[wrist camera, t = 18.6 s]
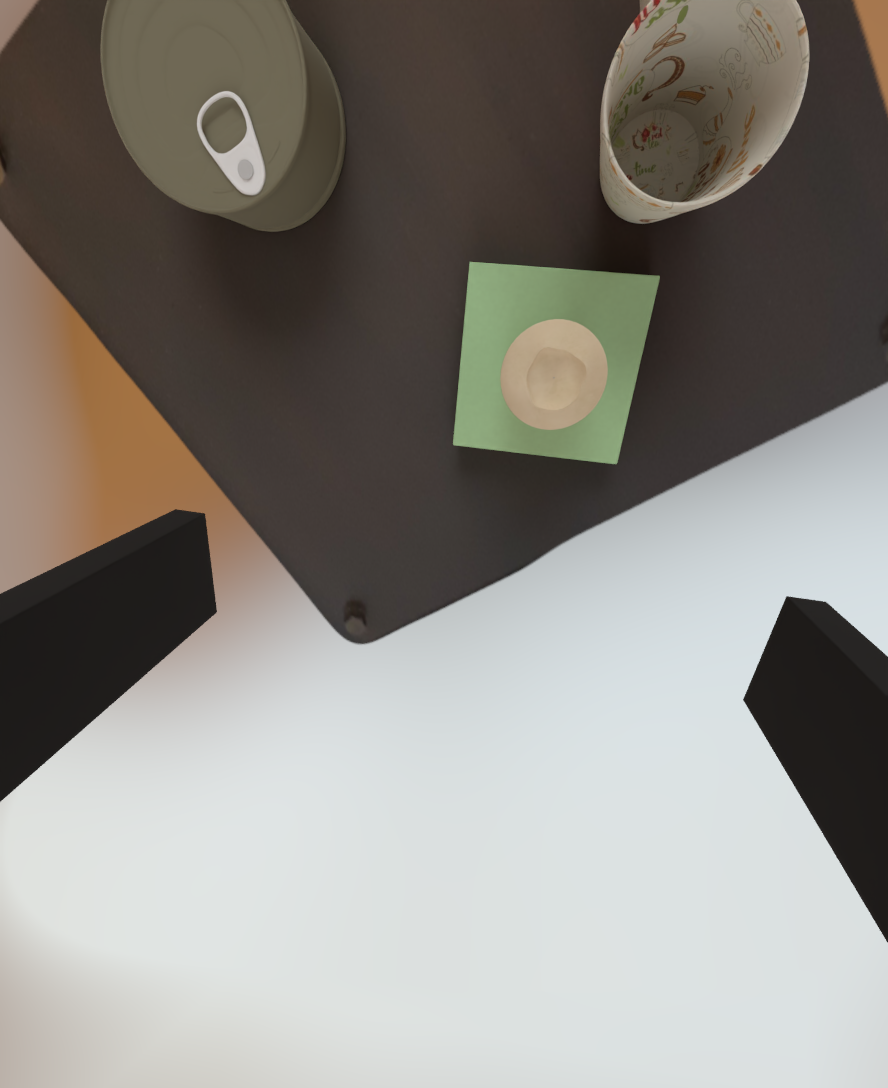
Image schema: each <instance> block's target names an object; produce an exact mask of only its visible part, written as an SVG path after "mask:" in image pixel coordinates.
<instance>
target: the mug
mask: <svg viewBox="0 0 888 1088" xmlns="http://www.w3.org/2000/svg"><path fill="white" fill-rule="evenodd" d="M808 68H809V41H808V33H807V28H806V24H805V20H804V17H803V14H802V12H801V9H800V7H799V5H798V3H797V1H796V0H640V14H639V15H638V16H637V18H636V19H635V20H634V22H633V23H632V25H631V26H630V27H629V29H628V31H627V32H626V34H625V36H624V37H623V39H622V41H621V43H620V45H619V47H618V49H617V51H616V53H615V56H614V58H613V61H612V63H611V66H610V69H609V72H608V75H607V79H606V83H605V87H604V92H603V98H602V105H601V117H600V183H601V189H602V193H603V196H604V198H605V201H606V202H607V204H608V206H609V207H610V209H611V210H612V211H613V212H614V213H615V214H616V215H617V216H619V217H620V218H622V219H624V220H626V221H628V222H632V223H638V224H646V223H653V222H657V221H660V220H663V219H666V218H669V217H673V216H676V215H679V214H682V213H685V212H688V211H691V210H694V209H698V208H701V207H704V206H707V205H709V204H712V203H714V202H716V201H718V200H720V199H722V198H724V197H726V196H728V195H729V194H731V193H733V192H734V191H736V190H737V189H739V188H740V187H741V186H743V185H744V184H745V183H746V182H748V181H749V180H750V179H751V178H752V177H754V176H755V175H756V174H757V173H758V172H759V171H760V170H761V169H762V168H763V167H764V165H765V164H766V163H767V162H768V161H769V160H770V159H771V157H772V156H773V155H774V153H775V152H776V151H777V149H778V148H779V146H780V145H781V143H782V142H783V140H784V139H785V137H786V135H787V133H788V132H789V130H790V128H791V126H792V124H793V122H794V120H795V117H796V115H797V113H798V110H799V107H800V104H801V101H802V99H803V95H804V91H805V87H806V82H807V76H808Z"/></svg>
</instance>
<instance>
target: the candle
mask: <svg viewBox="0 0 888 1088" xmlns="http://www.w3.org/2000/svg"><path fill="white" fill-rule="evenodd" d="M607 376H608V366H607V359H606V355H605V352H604V349H603V347H602V345H601V343H600V342H599V340H598V339H597V338H596V336H595V335H594V334H593V333H592V332H591V331H590V330H588V329H587V328H586V327H584V326H582V325H580V324H578V323H576V322H573V321H570V320H564V319H553V320H547V321H543V322H540V323H537V324H535V325H533V326H531V327H529V328H528V329H526V330H525V331H524V332H522V333H521V334H520V335H519V336H518V337H517V338H516V339H515V340H514V342H513V343H512V344H511V346H510V347H509V349H508V351H507V353H506V355H505V357H504V360H503V363H502V368H501V376H500V381H501V389H502V394H503V397H504V399H505V402H506V404H507V406H508V407H509V409H510V410H511V411H512V413H513V414H514V415H515V416H516V417H517V418H518V419H520V420H521V421H523V422H524V423H526V424H528V425H530V426H532V427H535V428H539V429H544V430H556V429H562V428H565V427H568V426H571V425H573V424H575V423H577V422H579V421H580V420H582V419H583V418H585V417H586V416H587V415H588V414H589V413H590V412H591V411H592V410H593V409H594V408H595V406H596V405H597V404H598V402H599V400H600V398H601V397H602V394H603V392H604V389H605V386H606V382H607Z"/></svg>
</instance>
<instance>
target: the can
mask: <svg viewBox="0 0 888 1088" xmlns="http://www.w3.org/2000/svg"><path fill="white" fill-rule="evenodd" d="M101 67H102V76H103V83H104V89H105V93H106V98H107V102H108V105H109V109H110V112H111V115H112V118H113V120H114V123H115V126H116V128H117V130H118V133H119V135H120V137H121V139H122V141H123V143H124V145H125V147H126V148H127V150H128V152H129V153H130V155H131V157H132V158H133V160H134V161H135V162H136V164H137V165H138V167H139V168H140V169H141V170H142V172H143V173H144V174H145V175H146V176H147V178H148V179H149V180H150V181H151V182H152V183H153V184H154V185H155V186H157V187H158V188H159V189H160V190H161V191H162V192H164V193H165V194H166V195H168V196H169V197H170V198H172V199H174V200H175V201H177V202H179V203H180V204H182V205H185V206H187V207H189V208H191V209H194V210H197V211H201V212H204V213H209V214H216V215H219V216H221V217H224V218H227V219H229V220H232V221H234V222H237V223H240V224H242V225H244V226H247V227H249V228H253V229H256V230H260V231H267V232H279V231H285V230H289V229H292V228H295V227H297V226H300V225H301V224H303V223H305V222H307V221H308V220H309V219H311V218H312V217H313V216H314V215H315V214H316V213H317V212H319V211H320V209H321V208H322V207H323V206H324V205H325V203H326V202H327V200H328V199H329V197H330V196H331V194H332V192H333V190H334V188H335V186H336V184H337V181H338V179H339V176H340V173H341V169H342V165H343V160H344V154H345V145H346V124H345V115H344V108H343V103H342V99H341V95H340V92H339V89H338V86H337V83H336V81H335V78H334V76H333V73H332V71H331V69H330V67H329V65H328V64H327V62H326V60H325V59H324V57H323V55H322V54H321V53H320V51H319V50H318V48H317V47H316V46H315V44H314V43H313V42H312V41H311V39H310V38H309V36H308V35H307V34H306V32H305V31H304V29H303V28H302V26H301V25H300V24H299V22H298V21H297V19H296V18H295V17H294V15H293V14H292V12H291V10H290V8H289V6H288V4H287V1H286V0H107V4H106V8H105V12H104V17H103V24H102V31H101Z"/></svg>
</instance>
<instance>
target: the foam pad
mask: <svg viewBox="0 0 888 1088" xmlns="http://www.w3.org/2000/svg"><path fill="white" fill-rule="evenodd" d="M659 279H660V276H654V275H641V274H627V273H614V272H601V271H587V270H574V269H560V268H547V267H533V266H520V265H506V264H493V263H479V262H470V263H469V273H468V284H467V295H466V306H465V317H464V328H463V339H462V350H461V361H460V372H459V383H458V394H457V405H456V416H455V427H454V438H453V445H456V446H465V447H473V448H482V449H490V450H499V451H507V452H516V453H524V454H533V455H541V456H550V457H558V458H567V459H575V460H584V461H592V462H600V463H609V464H617V462H618V457H619V453H620V449H621V444H622V440H623V436H624V431H625V427H626V423H627V418H628V414H629V410H630V405H631V401H632V396H633V392H634V388H635V383H636V379H637V375H638V370H639V366H640V362H641V357H642V353H643V349H644V344H645V340H646V336H647V331H648V327H649V323H650V318H651V314H652V310H653V305H654V301H655V297H656V292H657V288H658V284H659ZM553 319H564V320H570V321H573V322H576V323H578V324H580V325H582V326H584V327H586V328H587V329H588V330H590V331H591V332H592V333H593V334H594V335H595V336H596V338H597V339H598V340H599V342H600V343H601V345H602V347H603V349H604V352H605V355H606V359H607V366H608V376H607V382H606V386H605V389H604V392H603V394H602V397H601V398H600V400H599V402H598V404H597V405H596V406H595V408H594V409H593V410H592V411H591V412H590V413H589V414H588V415H587V416H586V417H585V418H583V419H582V420H580V421H579V422H577V423H575V424H573V425H571V426H568V427H565V428H562V429H556V430H544V429H539V428H535V427H532V426H530V425H528V424H526V423H524V422H523V421H521V420H520V419H518V418H517V417H516V416H515V415H514V414H513V413H512V411H511V410H510V409H509V407H508V406H507V404H506V402H505V399H504V397H503V394H502V389H501V381H500V376H501V368H502V363H503V360H504V357H505V355H506V353H507V351H508V349H509V347H510V346H511V344H512V343H513V342H514V340H515V339H516V338H517V337H518V336H519V335H520V334H521V333H522V332H524V331H525V330H526V329H528V328H529V327H531V326H533V325H535V324H537V323H540V322H543V321H547V320H553Z"/></svg>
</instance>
